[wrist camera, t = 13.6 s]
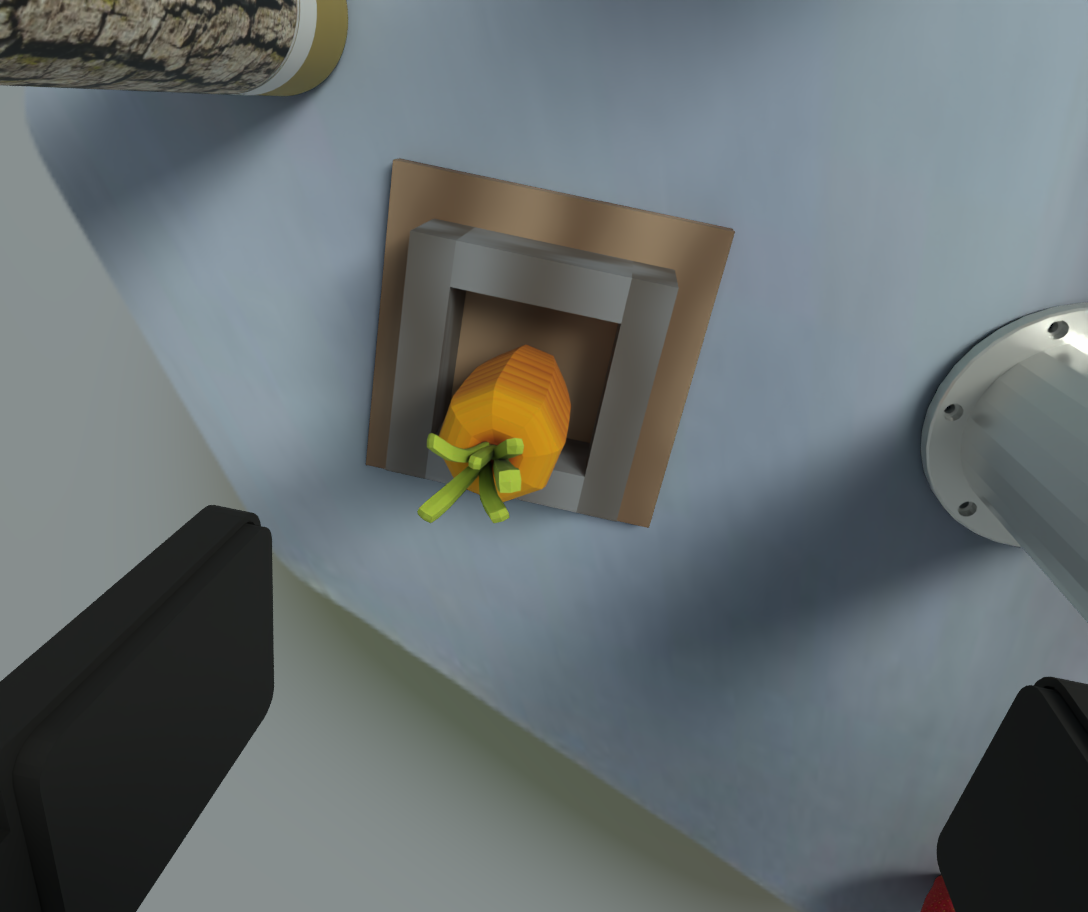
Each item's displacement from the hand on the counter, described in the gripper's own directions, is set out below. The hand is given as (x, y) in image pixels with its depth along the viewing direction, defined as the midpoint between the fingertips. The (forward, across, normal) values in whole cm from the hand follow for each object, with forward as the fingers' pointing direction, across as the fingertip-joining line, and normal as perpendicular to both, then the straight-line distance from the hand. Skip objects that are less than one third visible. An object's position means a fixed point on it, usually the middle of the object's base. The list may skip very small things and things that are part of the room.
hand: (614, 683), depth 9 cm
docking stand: (+29, +5, +5) cm, 30 cm away
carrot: (+28, +5, +5) cm, 29 cm away
